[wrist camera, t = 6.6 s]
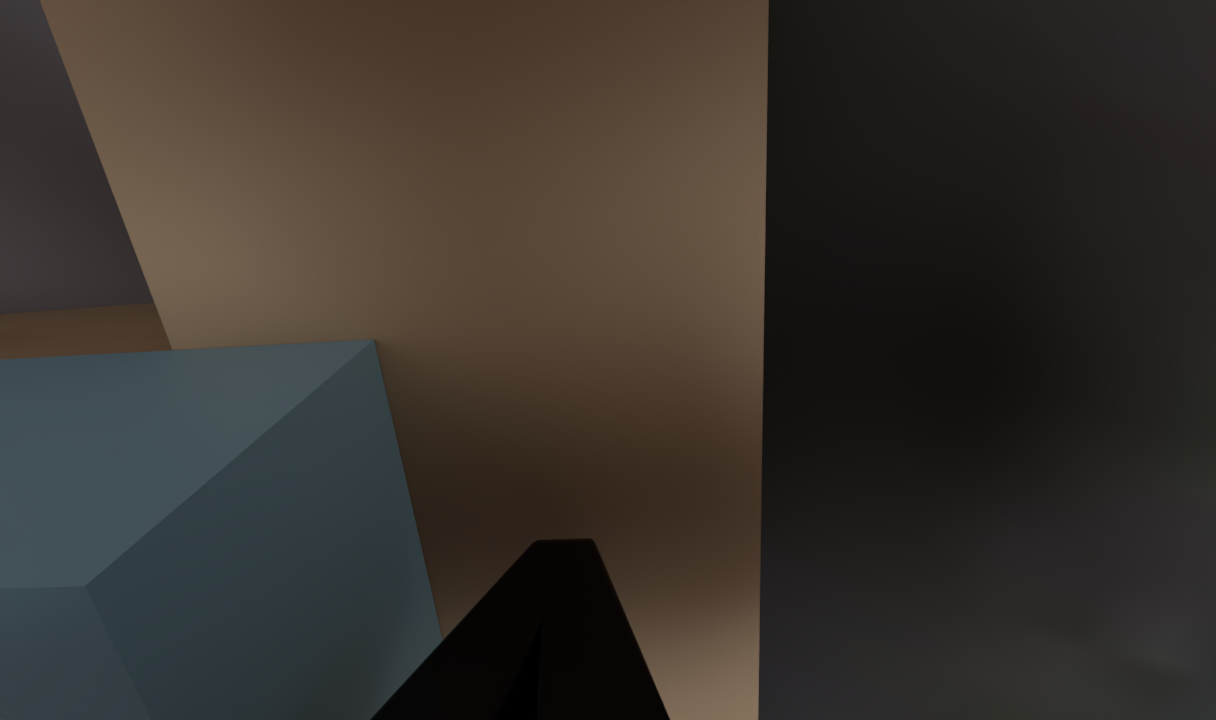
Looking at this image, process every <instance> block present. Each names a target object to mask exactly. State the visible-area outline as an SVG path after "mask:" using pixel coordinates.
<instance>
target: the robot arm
mask: <svg viewBox="0 0 1216 720" xmlns="http://www.w3.org/2000/svg"><path fill="white" fill-rule="evenodd" d="M370 720H670V718H669V715H668V713H667V711H666V708H665V706H664V703H663V701H662V699H661V696H660V694H659V692H658V689H657V687H656V685H655V682H654V680H653V678H652V675H651V673H650V670H649V668H648V666H647V663H646V661H645V659H644V656H643V654H642V652H641V649H640V647H639V644H638V642H637V640H636V637H635V635H634V633H633V630H632V628H631V626H630V623H629V621H628V618H627V616H626V614H625V611H624V609H623V607H622V604H621V602H620V600H619V597H618V595H617V592H616V590H615V588H614V585H613V583H612V581H611V578H610V576H609V574H608V571H607V569H606V567H605V564H604V562H603V559H602V557H601V555H600V552H599V550H598V548H597V545H596V543H595V541H594V540H593V539H591V538H578V539H543V540H536V541H534V542H533V543H532V544H531V545H530V546H529V547H528V548H527V549H526V550H525V551H524V552H523V554H522V555H521V556H520V557H519V558H518V559H517V560H516V561H515V562H514V563H513V564H512V565H511V567H510V568H509V569H508V570H507V571H506V572H505V573H504V574H503V575H502V576H501V577H500V579H499V580H498V581H497V582H496V583H495V584H494V585H493V586H492V587H491V588H490V589H489V590H488V592H487V593H486V594H485V595H484V596H483V597H482V598H481V599H480V600H479V601H478V602H477V604H476V605H475V606H474V607H473V608H472V609H471V610H470V611H469V612H468V613H467V614H466V615H465V617H464V618H463V619H462V620H461V621H460V622H459V623H458V624H457V625H456V626H455V627H454V629H453V630H452V631H451V632H450V633H449V634H448V635H447V636H446V637H445V638H444V639H443V640H442V642H441V643H440V644H439V645H438V646H437V647H436V648H435V649H434V650H433V651H432V652H431V654H430V655H429V656H428V657H427V658H426V659H425V660H424V661H423V662H422V663H421V664H420V665H419V667H418V668H417V669H416V670H415V671H414V672H413V673H412V674H411V675H410V676H409V677H408V679H407V680H406V681H405V682H404V683H403V684H402V685H401V686H400V687H399V688H398V689H397V690H396V692H395V693H394V694H393V695H392V696H391V697H390V698H389V699H388V700H387V701H386V702H385V704H384V705H383V706H382V707H381V708H380V709H379V710H378V711H377V712H376V713H375V714H374V716H373V717H372V718H371V719H370Z"/></svg>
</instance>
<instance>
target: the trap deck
mask: <svg viewBox="0 0 1216 720" xmlns="http://www.w3.org/2000/svg"><path fill="white" fill-rule="evenodd" d="M768 14H769V0H0V360H2V359H20V358H39V357H57V356H76V355H94V354H113V353H131V352H150V351H168V350H187V349H205V348H224V347H242V346H261V345H279V344H298V343H316V342H335V341H354V340H372V339H374V341H375V346H376V350H377V355H378V359H379V363H380V368H381V372H382V377H383V381H384V385H385V390H386V394H387V398H388V403H389V407H390V412H391V416H392V420H393V425H394V429H395V433H396V438H397V442H398V447H399V451H400V455H401V460H402V464H403V469H404V473H405V477H406V482H407V486H408V490H409V495H410V499H411V504H412V508H413V512H414V517H415V521H416V525H417V530H418V534H419V539H420V543H421V547H422V552H423V556H424V561H425V565H426V569H427V574H428V578H429V582H430V587H431V591H432V596H433V600H434V604H435V609H436V613H437V617H438V622H439V626H440V631H441V635H442V639H444V638H445V637H446V636H447V635H448V634H449V633H450V632H451V631H452V630H453V629H454V627H455V626H456V625H457V624H458V623H459V622H460V621H461V620H462V619H463V618H464V617H465V615H466V614H467V613H468V612H469V611H470V610H471V609H472V608H473V607H474V606H475V605H476V604H477V602H478V601H479V600H480V599H481V598H482V597H483V596H484V595H485V594H486V593H487V592H488V590H489V589H490V588H491V587H492V586H493V585H494V584H495V583H496V582H497V581H498V580H499V579H500V577H501V576H502V575H503V574H504V573H505V572H506V571H507V570H508V569H509V568H510V567H511V565H512V564H513V563H514V562H515V561H516V560H517V559H518V558H519V557H520V556H521V555H522V554H523V552H524V551H525V550H526V549H527V548H528V547H529V546H530V545H531V544H532V543H533V542H534V541H536V540H543V539H578V538H591V539H593V540H594V541H595V543H596V545H597V548H598V550H599V552H600V555H601V557H602V559H603V562H604V564H605V567H606V569H607V571H608V574H609V576H610V578H611V581H612V583H613V585H614V588H615V590H616V592H617V595H618V597H619V600H620V602H621V604H622V607H623V609H624V611H625V614H626V616H627V618H628V621H629V623H630V626H631V628H632V630H633V633H634V635H635V637H636V640H637V642H638V644H639V647H640V649H641V652H642V654H643V656H644V659H645V661H646V663H647V666H648V668H649V670H650V673H651V675H652V678H653V680H654V682H655V685H656V687H657V689H658V692H659V694H660V696H661V699H662V701H663V703H664V706H665V708H666V711H667V713H668V715H669V718H670V720H758V695H759V627H760V559H761V491H762V423H763V354H764V286H765V218H766V150H767V82H768Z"/></svg>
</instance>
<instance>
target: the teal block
mask: <svg viewBox="0 0 1216 720" xmlns="http://www.w3.org/2000/svg"><path fill="white" fill-rule="evenodd" d="M442 640H443V639H442V635H441V631H440V626H439V622H438V617H437V613H436V609H435V604H434V600H433V596H432V591H431V587H430V582H429V578H428V574H427V569H426V565H425V561H424V556H423V552H422V547H421V543H420V539H419V534H418V530H417V525H416V521H415V517H414V512H413V508H412V504H411V499H410V495H409V490H408V486H407V482H406V477H405V473H404V469H403V464H402V460H401V455H400V451H399V447H398V442H397V438H396V433H395V429H394V425H393V420H392V416H391V412H390V407H389V403H388V398H387V394H386V390H385V385H384V381H383V377H382V372H381V368H380V363H379V359H378V355H377V350H376V346H375V341H374V339H372V340H354V341H335V342H316V343H298V344H279V345H261V346H242V347H224V348H205V349H187V350H168V351H150V352H131V353H113V354H94V355H76V356H57V357H39V358H20V359H2V360H0V720H370V719H371V718H372V717H373V716H374V714H375V713H376V712H377V711H378V710H379V709H380V708H381V707H382V706H383V705H384V704H385V702H386V701H387V700H388V699H389V698H390V697H391V696H392V695H393V694H394V693H395V692H396V690H397V689H398V688H399V687H400V686H401V685H402V684H403V683H404V682H405V681H406V680H407V679H408V677H409V676H410V675H411V674H412V673H413V672H414V671H415V670H416V669H417V668H418V667H419V665H420V664H421V663H422V662H423V661H424V660H425V659H426V658H427V657H428V656H429V655H430V654H431V652H432V651H433V650H434V649H435V648H436V647H437V646H438V645H439V644H440V643H441V642H442Z"/></svg>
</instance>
